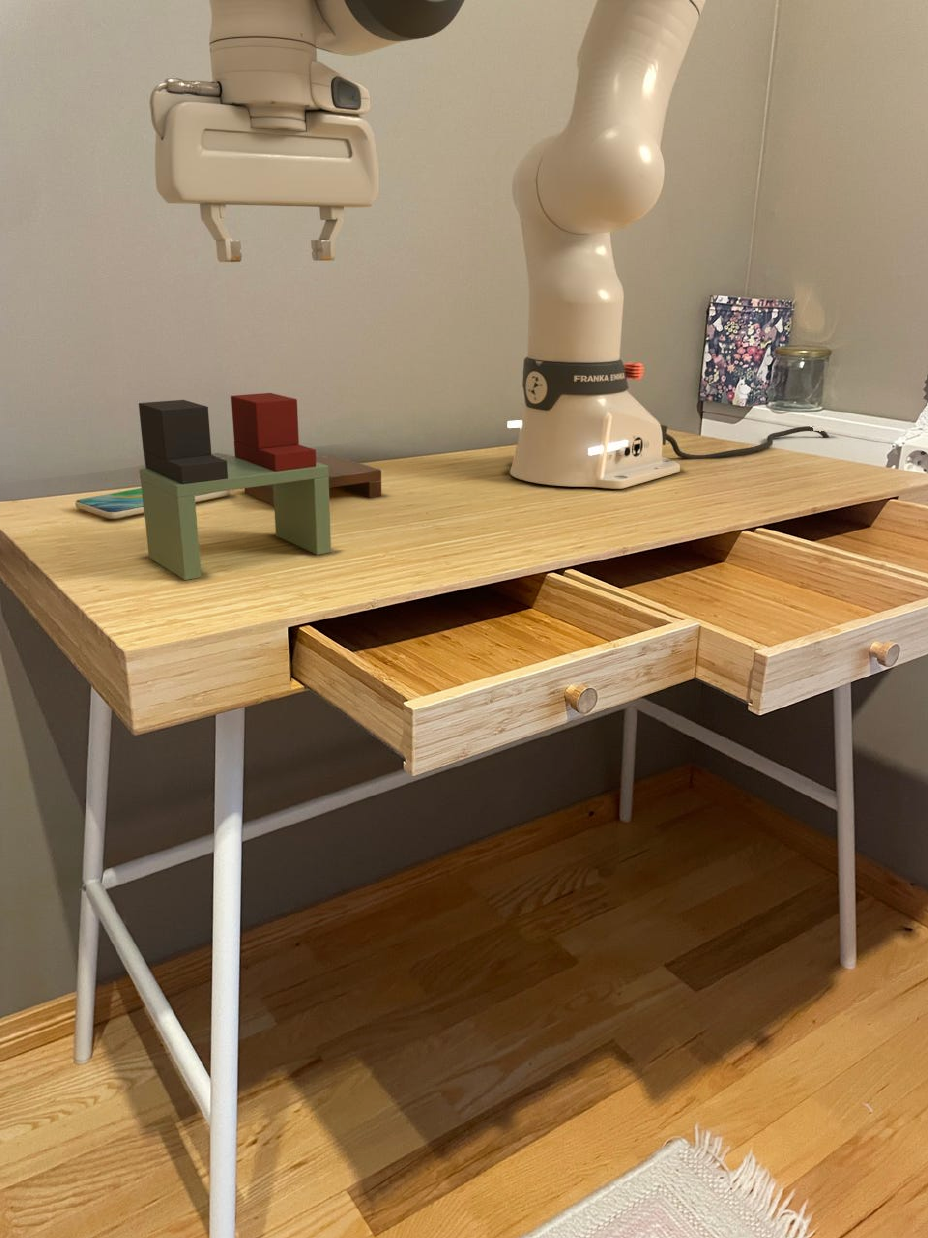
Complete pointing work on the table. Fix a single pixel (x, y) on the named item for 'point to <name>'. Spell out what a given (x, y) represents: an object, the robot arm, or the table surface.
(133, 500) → the smartphone
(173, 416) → the dark stepped block
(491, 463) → the table surface
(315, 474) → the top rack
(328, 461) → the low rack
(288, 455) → the red l-shaped step block
